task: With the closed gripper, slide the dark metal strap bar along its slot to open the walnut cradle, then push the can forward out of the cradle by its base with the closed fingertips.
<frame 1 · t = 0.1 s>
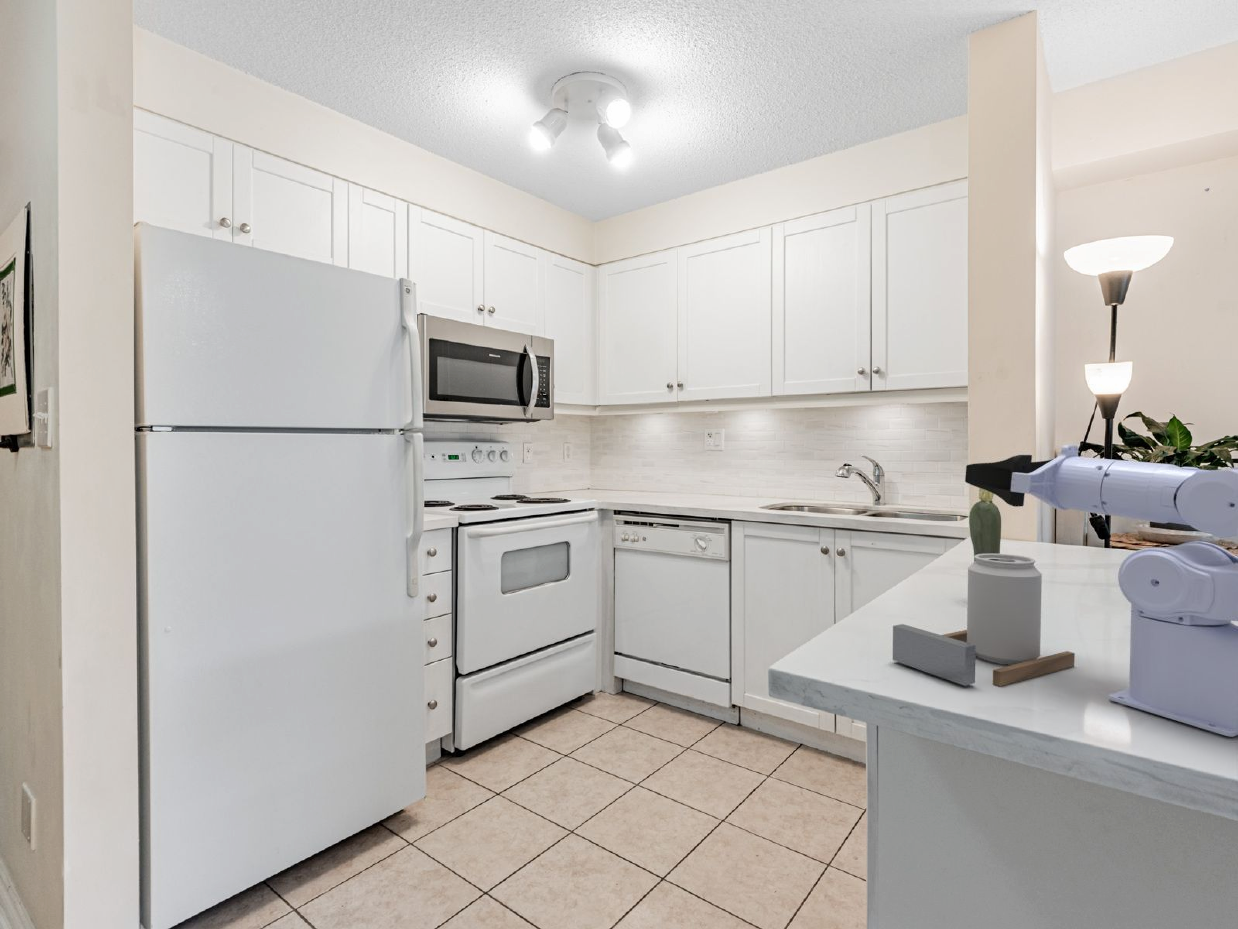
hand: (988, 472, 79), 22 cm above the countertop, tool horizontal, fingers open, 7 cm apart
can: (1002, 658, 78), on the countertop
strap bar: (931, 653, 72), point 2 cm above the countertop, slide at 0.0 cm
cradle: (1002, 656, 78), on the countertop
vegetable: (983, 605, 103), on the countertop
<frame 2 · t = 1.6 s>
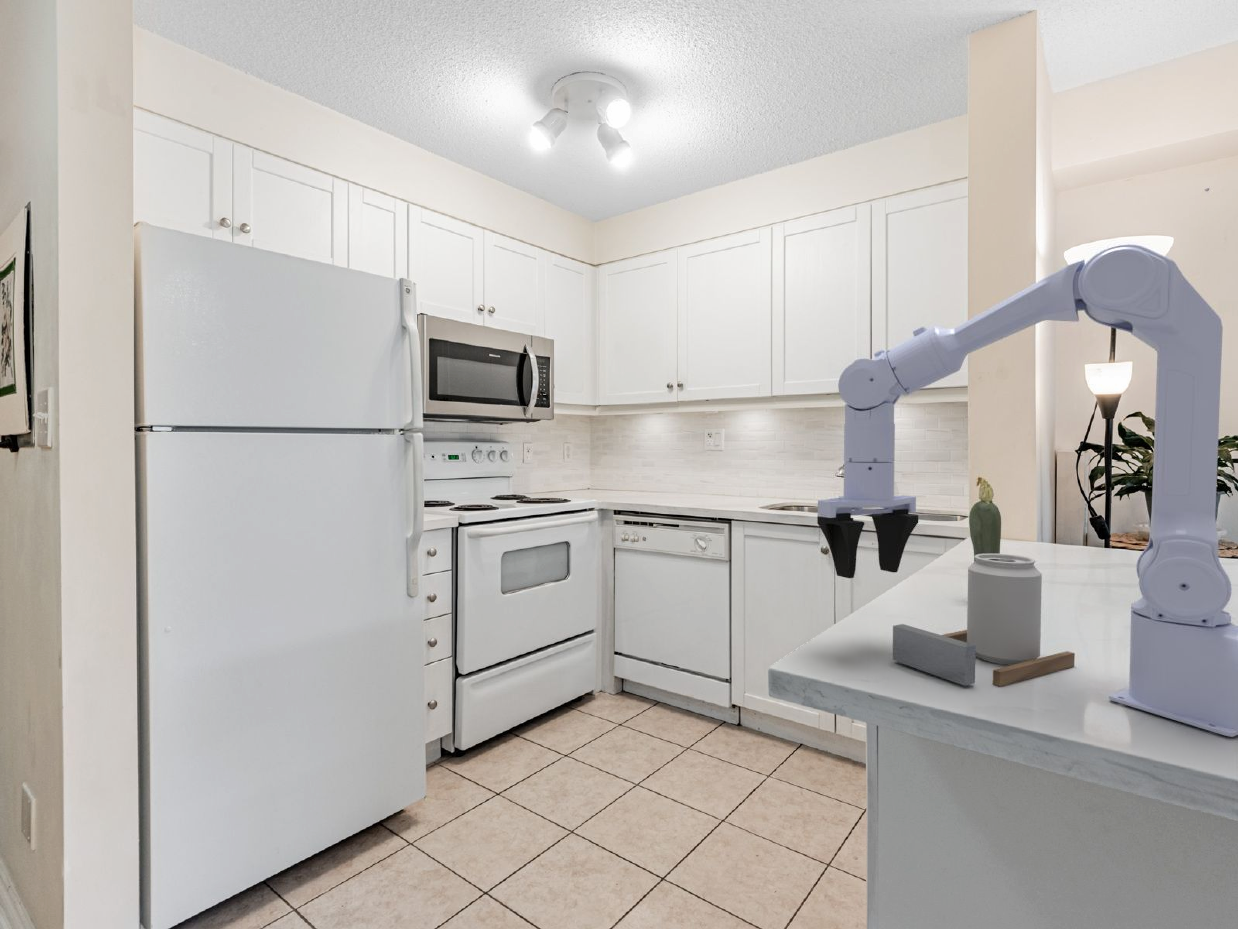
hand: (867, 573, 80), 9 cm above the countertop, tool pointing down, fingers open, 7 cm apart
nothing on the countertop moved.
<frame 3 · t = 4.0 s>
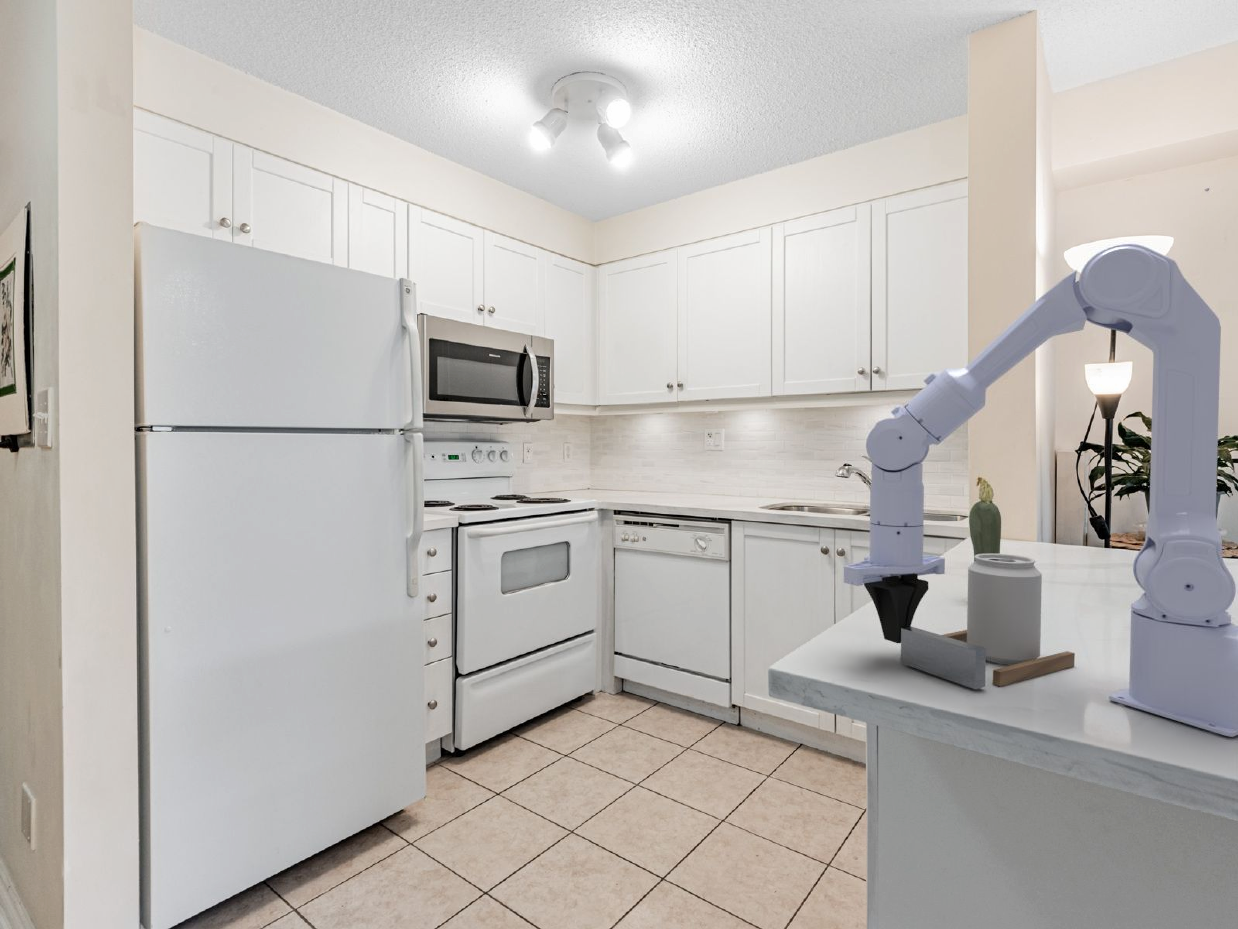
hand: (895, 640, 76), 2 cm above the countertop, tool pointing down, fingers closed, pressing on strap bar
strap bar: (941, 656, 71), point 2 cm above the countertop, slide at 1.1 cm, touching gripper
everything else where it was.
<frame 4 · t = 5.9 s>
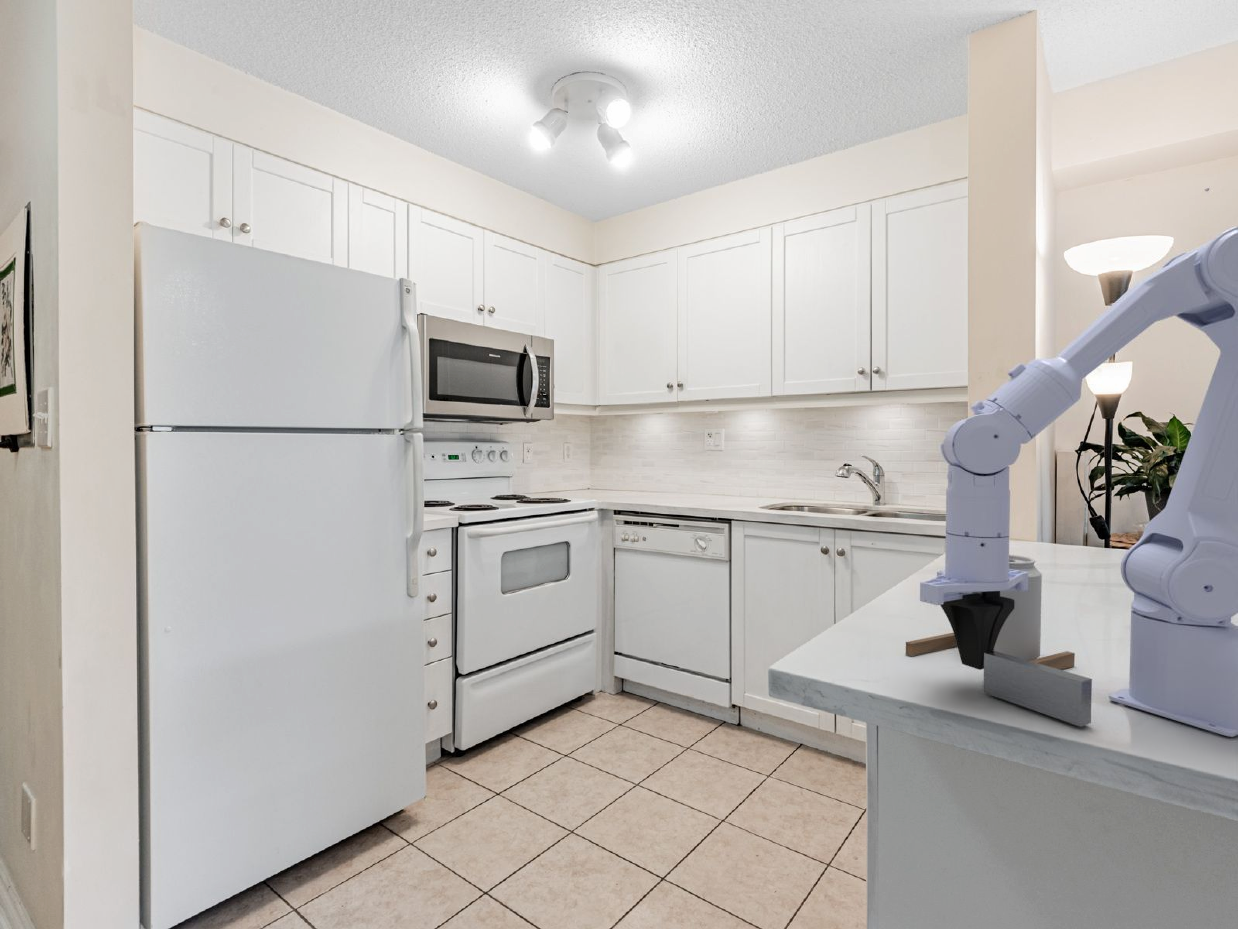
hand: (974, 665, 67), 2 cm above the countertop, tool pointing down, fingers closed, pressing on strap bar
strap bar: (1034, 686, 62), point 2 cm above the countertop, slide at 11.0 cm, touching gripper
everything else where it was.
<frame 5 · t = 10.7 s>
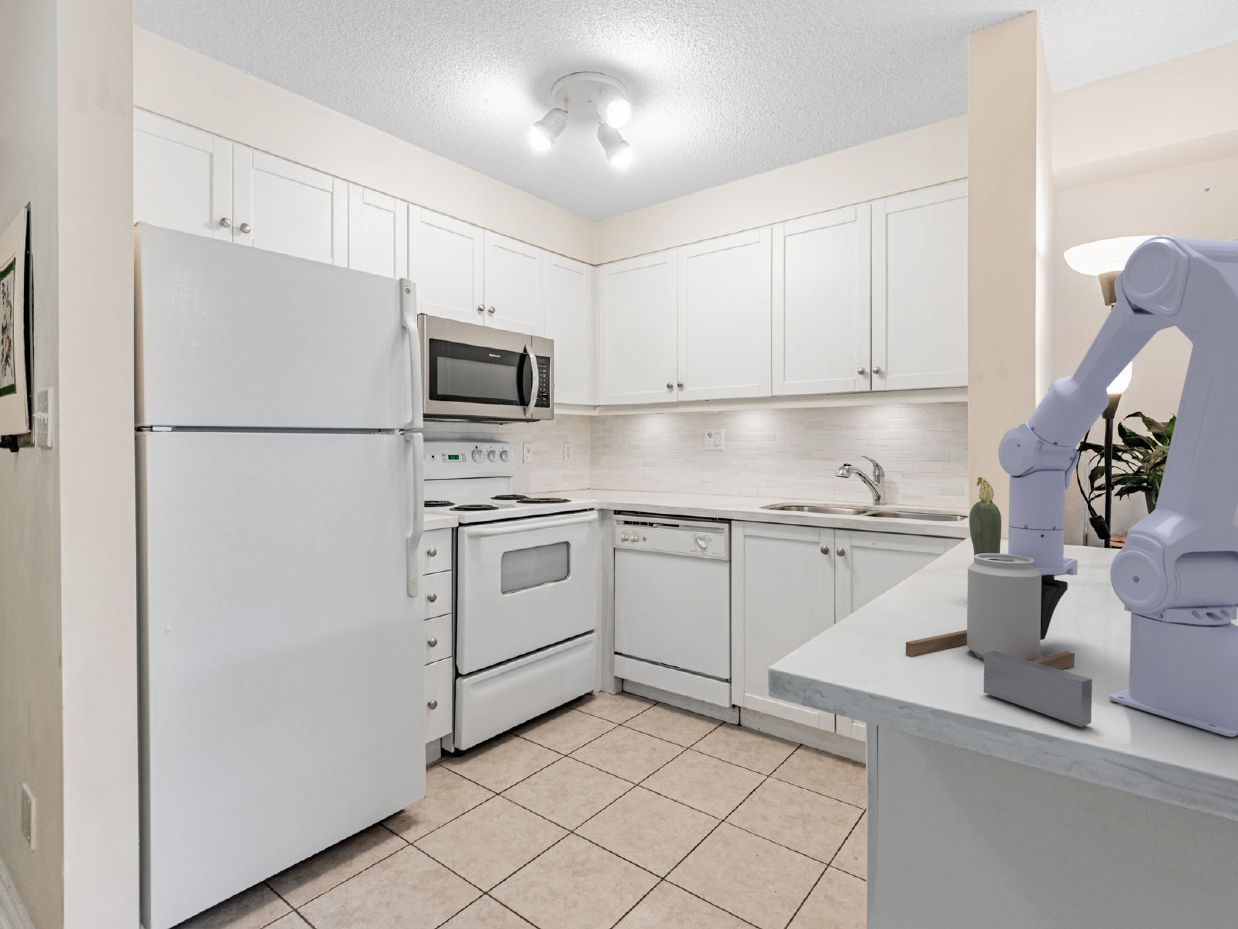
hand: (1033, 637, 80), 1 cm above the countertop, tool pointing down, fingers closed
can: (1002, 658, 78), on the countertop, touching gripper
strap bar: (1034, 686, 62), point 2 cm above the countertop, slide at 11.0 cm
everything else where it was.
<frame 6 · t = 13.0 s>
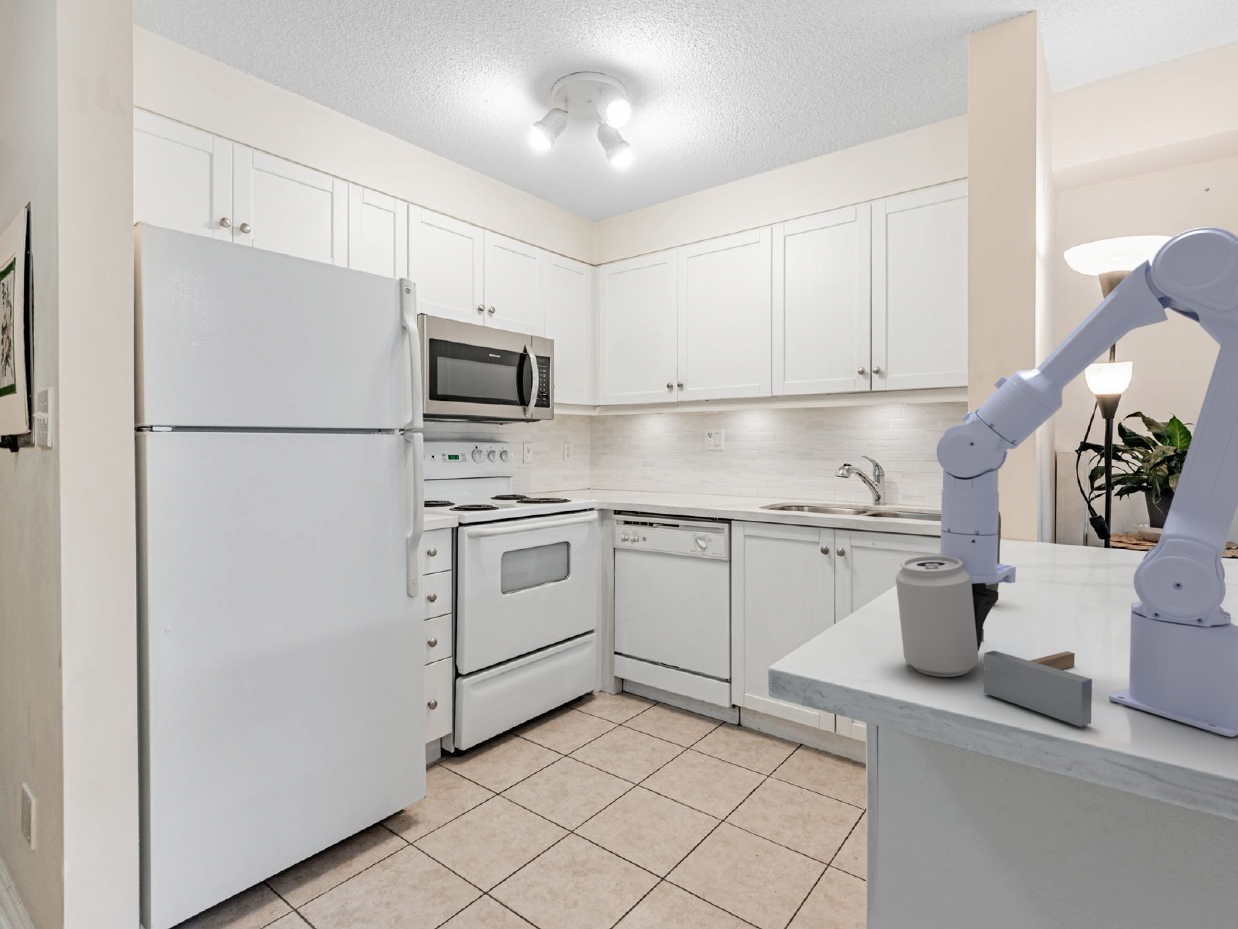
hand: (965, 650, 75), 2 cm above the countertop, tool pointing down, fingers closed, pressing on can
can: (941, 667, 73), on the countertop, touching gripper
everything else where it was.
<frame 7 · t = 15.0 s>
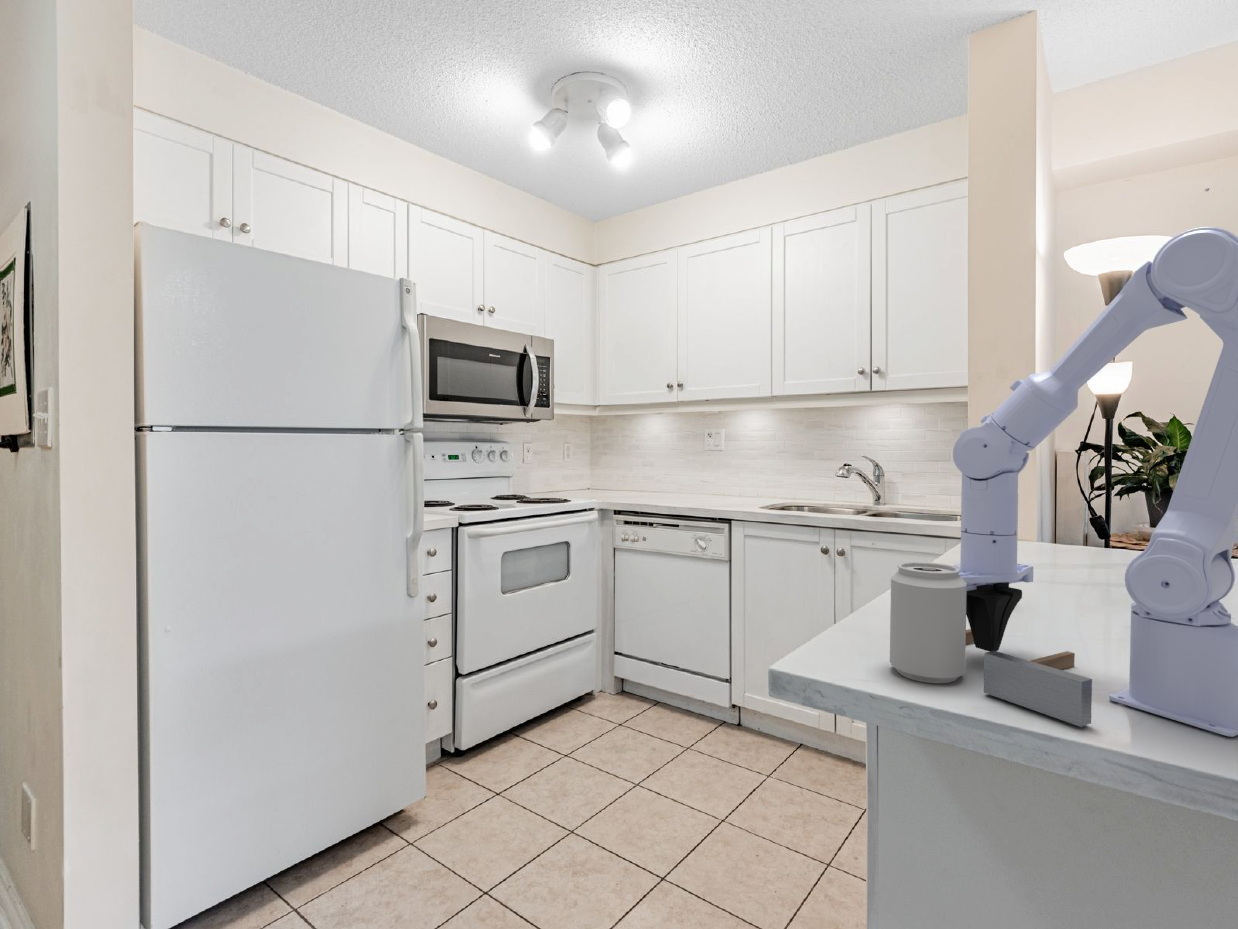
hand: (986, 648, 76), 1 cm above the countertop, tool pointing down, fingers closed
can: (926, 675, 72), on the countertop
everything else where it was.
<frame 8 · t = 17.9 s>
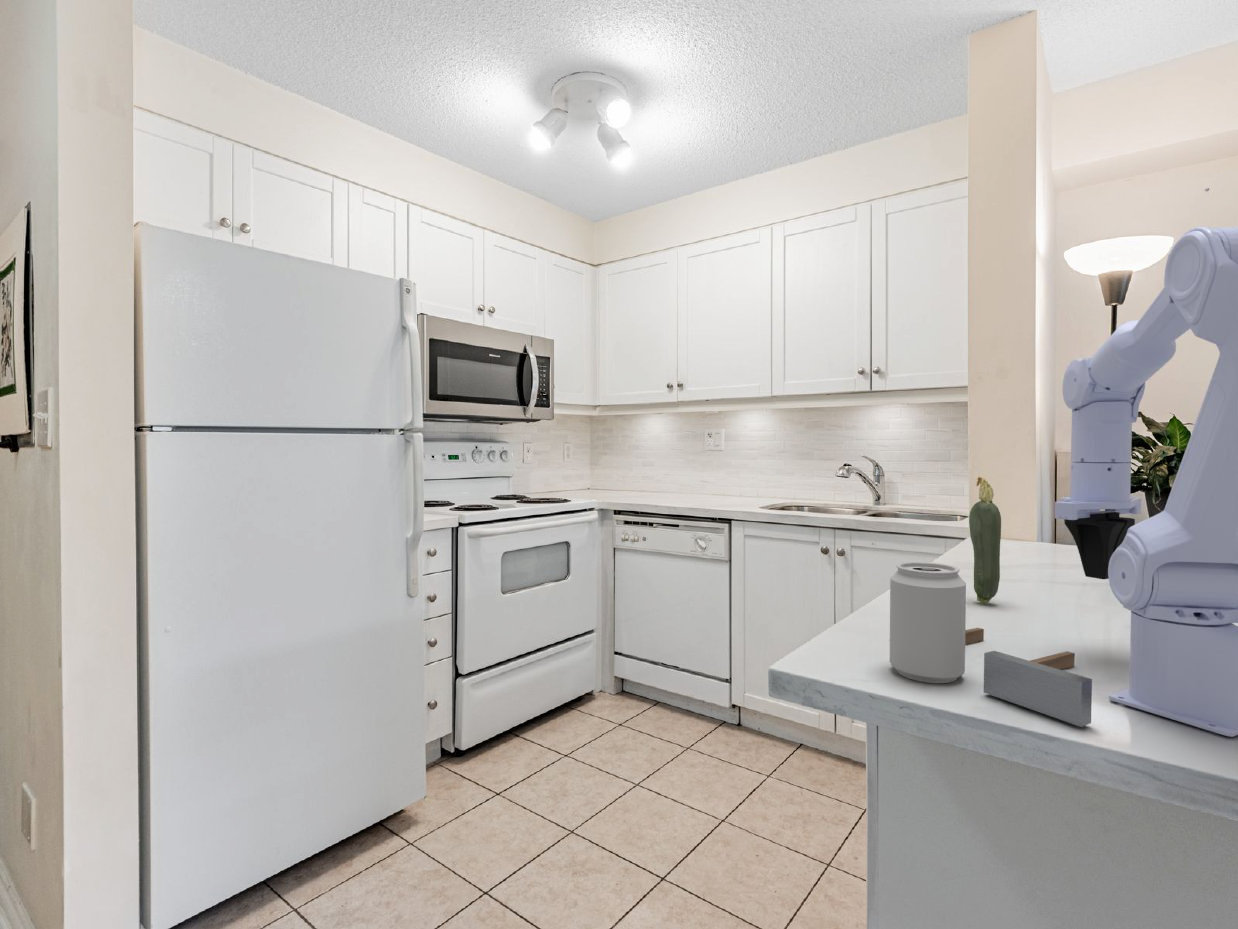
hand: (1097, 577, 77), 9 cm above the countertop, tool pointing down, fingers closed
nothing on the countertop moved.
at the end: strap bar slide at 11.0 cm; can inside the target area (2.0 cm from its centre), on the countertop; can tilted 0° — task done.
